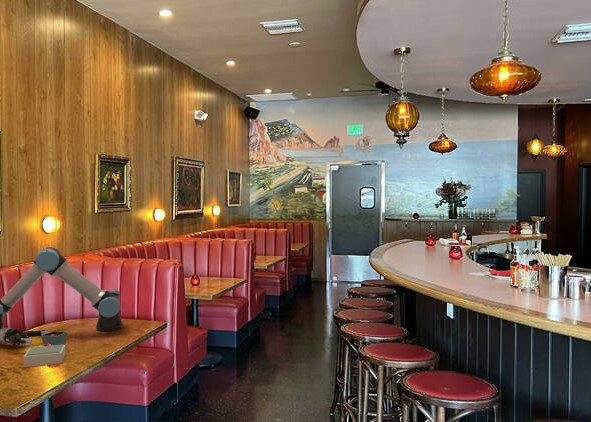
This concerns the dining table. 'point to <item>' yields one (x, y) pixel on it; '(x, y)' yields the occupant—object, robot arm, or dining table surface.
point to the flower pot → (55, 338)
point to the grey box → (44, 355)
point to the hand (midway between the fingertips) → (42, 338)
